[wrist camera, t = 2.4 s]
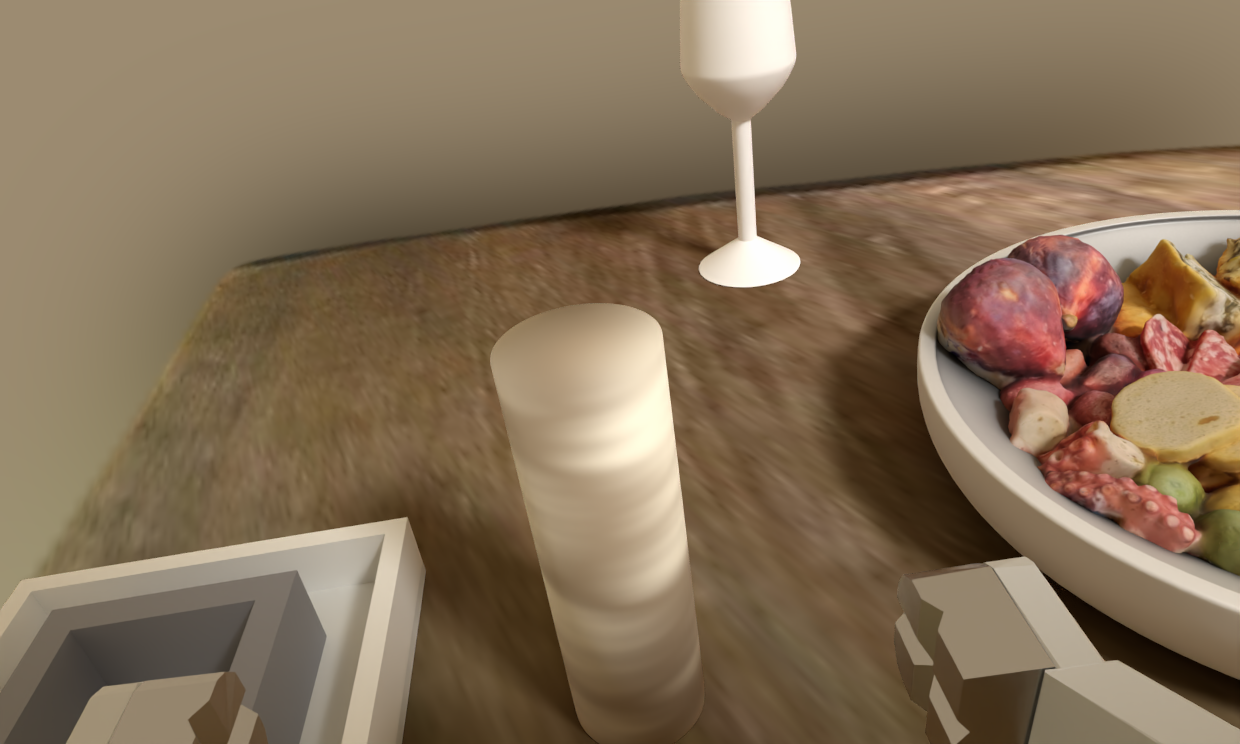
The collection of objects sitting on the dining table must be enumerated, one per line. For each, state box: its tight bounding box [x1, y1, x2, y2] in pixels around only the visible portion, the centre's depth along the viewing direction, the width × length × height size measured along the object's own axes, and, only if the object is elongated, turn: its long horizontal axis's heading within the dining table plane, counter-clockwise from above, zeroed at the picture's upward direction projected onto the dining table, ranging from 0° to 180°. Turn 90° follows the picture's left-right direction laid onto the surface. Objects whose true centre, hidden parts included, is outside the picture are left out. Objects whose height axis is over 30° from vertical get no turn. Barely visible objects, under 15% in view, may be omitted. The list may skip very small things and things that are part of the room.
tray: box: [0, 517, 426, 744], centre depth 28 cm, size 16×16×4 cm
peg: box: [490, 303, 705, 744], centre depth 26 cm, size 4×4×14 cm
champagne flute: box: [680, 0, 800, 287], centre depth 51 cm, size 7×7×24 cm
